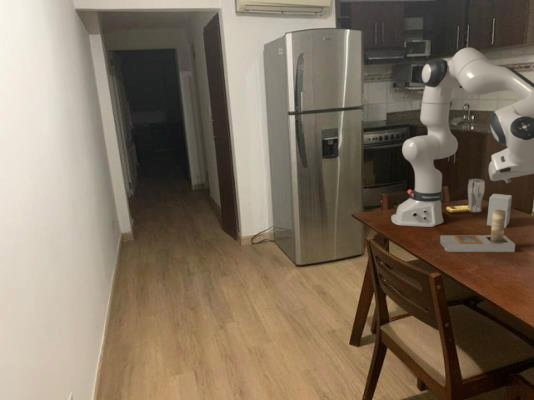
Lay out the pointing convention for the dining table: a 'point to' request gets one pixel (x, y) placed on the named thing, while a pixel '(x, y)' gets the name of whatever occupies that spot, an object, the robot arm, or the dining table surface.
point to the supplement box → (499, 207)
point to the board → (475, 244)
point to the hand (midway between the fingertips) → (524, 178)
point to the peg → (497, 226)
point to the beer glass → (475, 194)
